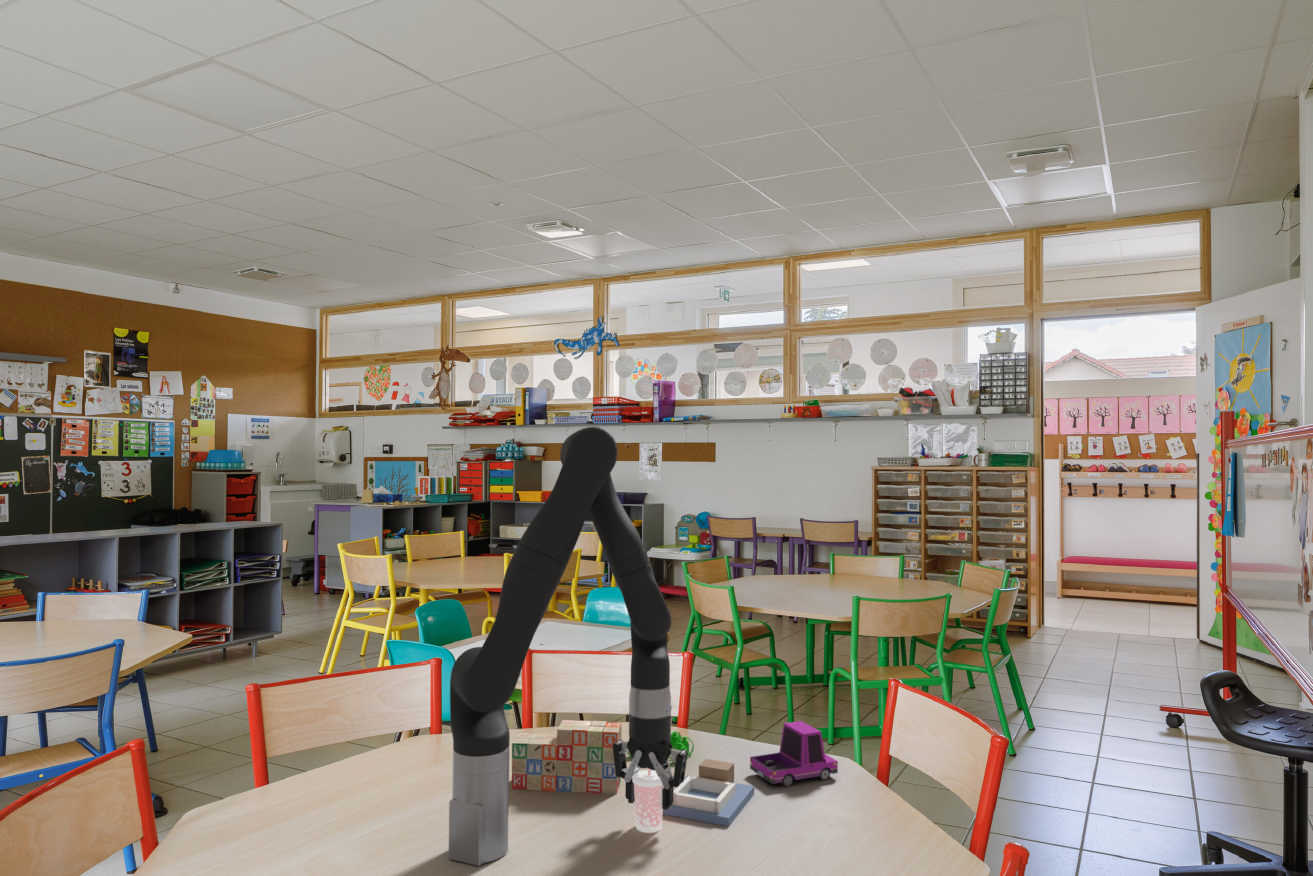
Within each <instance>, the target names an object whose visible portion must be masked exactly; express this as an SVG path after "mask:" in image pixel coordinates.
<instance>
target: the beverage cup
mask: <svg viewBox="0 0 1313 876" xmlns="http://www.w3.org/2000/svg"><path fill="white" fill-rule="evenodd" d="M632 779H633V780H632V781H633V783H634V797H635V802H634V811H635V812H634V813H635V815H634V816H635V828H636V830H638V831H639V832H642V833H646V834H648V833H649V834H651V833H657V832H659V831H660V830H662V829H663V828H662V827H663V815H664V814H663V809H662V789H663V788H664V786H663V784H662V781H661V779H660V778H659V777H658V775H657V773H656V771H655V770H651V769H649V768H647V769H645V770H639V771H638V772H636V773H634V775H633V776H632Z"/></svg>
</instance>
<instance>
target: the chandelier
mask: <svg viewBox="0 0 1313 876" xmlns="http://www.w3.org/2000/svg"><path fill="white" fill-rule="evenodd" d="M689 741H690V742H691V745H692V748H691V751H690V744H689ZM670 742H671V745H672V747H673V749H677V750H680V751H682V750H683V749H685V750H687V752H688V755H687V760H688V758H689V756H690V755H692V753H693V752H694V747H695V746H694V745H695V744H694V742H693V740H692V739H691V738H690V737H688V736H681V733H680V732H679V731H678V730H677V731H676V730H675V731H672V732H671V738H670ZM626 754H627V755H628V756H629V757H630V758H633V757H632V756H631V754H630V752H629V751H628V750H627V752H626ZM667 760H668V761H669V758H668V759H667Z"/></svg>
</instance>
